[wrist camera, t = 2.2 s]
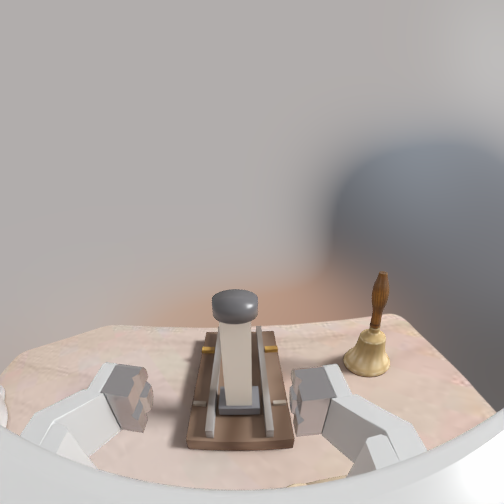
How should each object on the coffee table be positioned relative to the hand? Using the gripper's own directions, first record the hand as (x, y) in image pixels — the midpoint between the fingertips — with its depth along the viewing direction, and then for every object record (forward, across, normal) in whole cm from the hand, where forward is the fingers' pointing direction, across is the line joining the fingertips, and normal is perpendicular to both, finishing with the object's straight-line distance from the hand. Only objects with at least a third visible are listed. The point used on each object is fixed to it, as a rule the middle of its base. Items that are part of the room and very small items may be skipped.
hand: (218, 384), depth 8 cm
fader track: (+23, 0, +22) cm, 32 cm away
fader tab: (+17, 0, +20) cm, 26 cm away
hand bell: (+26, -21, +22) cm, 40 cm away
